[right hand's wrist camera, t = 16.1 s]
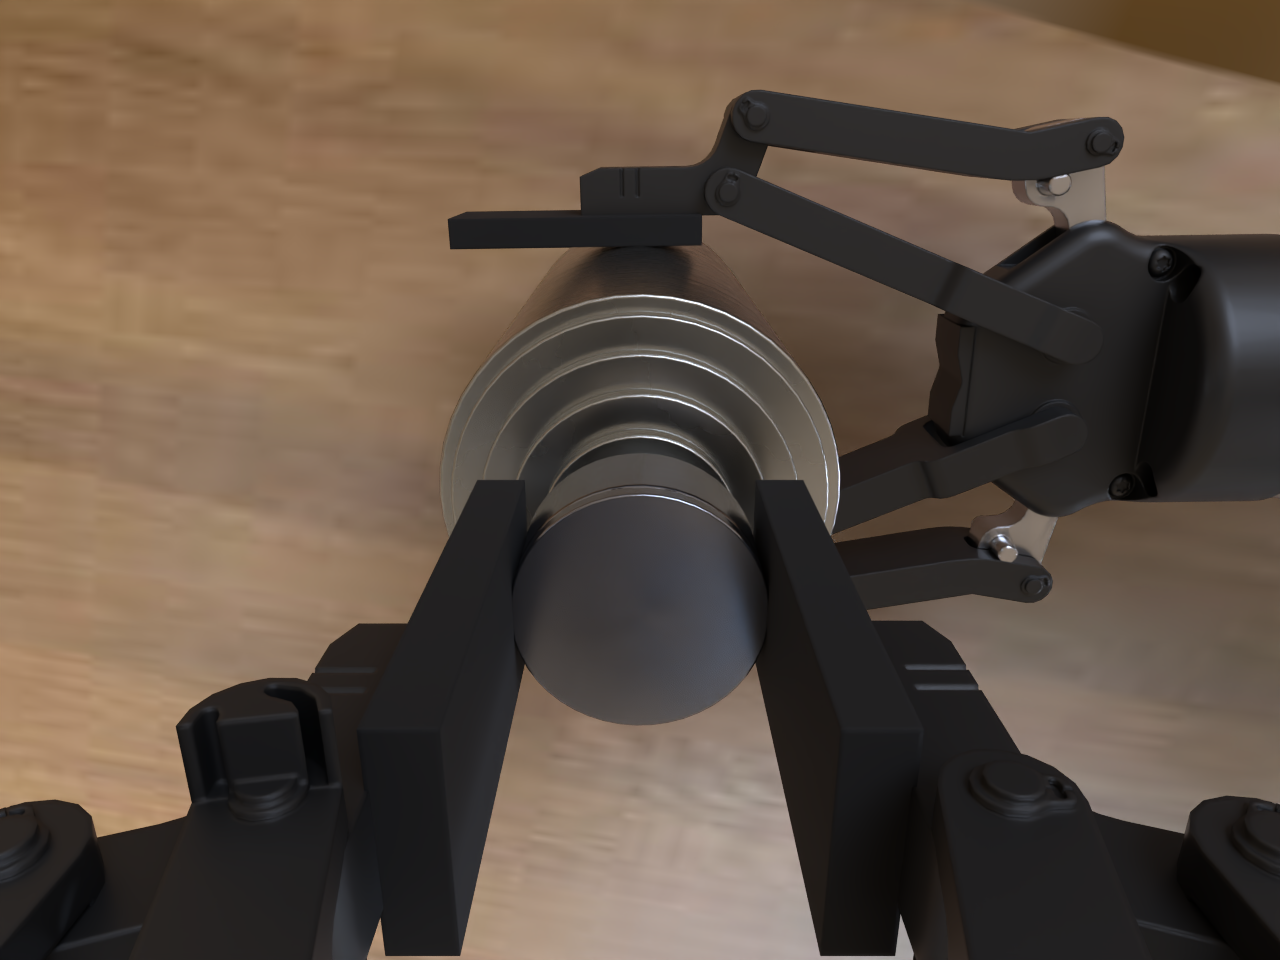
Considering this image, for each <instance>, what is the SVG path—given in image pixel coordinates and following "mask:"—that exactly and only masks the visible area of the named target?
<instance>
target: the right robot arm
mask: <svg viewBox="0 0 1280 960" xmlns="http://www.w3.org/2000/svg"><path fill="white" fill-rule="evenodd" d="M526 535H527V513H526V491H525V480H477V482H476V484H475V486H474V488H473V490H472V492H471V494H470V496H469V498H468V500H467V502H466V504H465V506H464V508H463V510H462V513H461V515H460V517H459V519H458V521H457V523H456V525H455V527H454V529H453V531H452V533H451V535H450V537H449V539H448V541H447V543H446V546H445V548H444V550H443V552H442V554H441V556H440V558H439V560H438V562H437V564H436V566H435V568H434V570H433V572H432V574H431V577H430V579H429V581H428V583H427V585H426V587H425V589H424V591H423V593H422V595H421V597H420V599H419V601H418V603H417V605H416V607H415V610H414V612H413V614H412V616H411V618H410V620H409V622H408V624H358V625H356V626H355V627H353V628H352V629H351V630H349V631H348V632H346V633H345V634H344V635H342V636H341V637H339V638H338V639H337V640H335V641H334V642H333V643H331V644H330V645H329V647H328V648H327V650H326V652H325V653H324V655H323V656H322V658H321V660H320V661H319V663H318V665H317V666H316V668H315V673H312V674H311V676H310V677H309V679H308V681H305V680H301V679H298V678H267V679H261V680H256V681H251V682H246V683H241V684H238V685H235V686H233V687H230V688H228V689H225V690H222V691H220V692H217V693H215V694H212V695H211V696H209V697H208V698H206V699H205V700H203V701H202V702H200V703H199V704H197V705H195V706H194V707H192V708H191V709H190V710H189V711H188V712H187V713H186V714H185V716H184V717H183V718H182V719H181V721H180V722H179V723H178V724H177V725H176V730H177V735H178V739H179V744H180V749H181V754H182V758H183V763H184V768H185V773H186V777H187V782H188V787H189V792H190V796H191V801H192V804H191V806H190V809H189V811H188V814H187V816H185V817H183V818H179V819H176V820H172V821H169V822H165V823H162V824H158V825H153V826H149V827H144V828H139V829H135V830H130V831H125V832H121V833H116V834H112V835H107V836H102V837H98V838H97V836H96V832H95V828H94V824H93V820H92V816H91V815H90V814H89V813H87V812H86V811H85V810H84V809H83V808H82V807H81V806H80V805H79V804H74V803H69V802H65V801H60V800H45V801H34V802H24V803H21V804H17V805H13V806H10V807H7V808H6V807H5V808H2V809H0V960H367V955H368V952H369V949H370V946H371V943H372V940H373V937H374V935H375V932H376V929H377V926H378V923H379V920H380V917H381V925H382V933H383V941H384V948H385V956H460V954H461V949H462V945H463V940H464V936H465V931H466V927H467V922H468V918H469V913H470V909H471V904H472V900H473V895H474V891H475V886H476V882H477V877H478V873H479V868H480V864H481V859H482V855H483V850H484V846H485V841H486V837H487V832H488V828H489V823H490V818H491V814H492V809H493V805H494V800H495V796H496V791H497V787H498V782H499V778H500V773H501V769H502V764H503V760H504V755H505V751H506V746H507V742H508V737H509V733H510V728H511V724H512V719H513V715H514V710H515V706H516V701H517V697H518V692H519V687H520V683H521V678H522V674H523V669H524V665H525V663H524V661H523V659H522V658H521V656H520V654H519V651H518V649H517V646H516V644H515V641H514V630H513V611H512V585H513V580H514V577H515V573H516V570H517V566H518V563H519V559H520V556H521V552H522V549H523V545H524V542H525V538H526ZM753 537H754V541H755V544H756V547H757V551H758V554H759V558H760V561H761V565H762V568H763V572H764V575H765V579H766V582H767V586H768V590H769V602H768V621H767V636H766V640H765V643H764V646H763V649H762V651H761V653H760V655H759V657H758V659H757V661H756V667H757V671H758V676H759V681H760V685H761V690H762V694H763V699H764V703H765V708H766V712H767V717H768V721H769V726H770V730H771V735H772V739H773V744H774V748H775V753H776V757H777V762H778V766H779V771H780V775H781V780H782V784H783V789H784V793H785V798H786V802H787V807H788V811H789V816H790V820H791V825H792V829H793V834H794V839H795V843H796V848H797V852H798V857H799V861H800V866H801V870H802V875H803V879H804V884H805V888H806V893H807V897H808V902H809V906H810V911H811V915H812V920H813V924H814V929H815V933H816V938H817V942H818V947H819V951H820V956H895V953H896V945H897V937H898V930H899V922H900V914H901V916H902V919H903V922H904V925H905V928H906V931H907V934H908V937H909V940H910V943H911V946H912V949H913V952H914V957H913V960H1280V804H1277V803H1276V804H1274V803H1272V802H1269V801H1264V800H1261V799H1257V798H1246V797H1235V796H1223V797H1218V798H1213V799H1208V800H1203V801H1202V802H1201V803H1200V804H1199V805H1198V806H1197V807H1196V808H1194V809H1193V810H1192V811H1191V812H1190V815H1189V819H1188V823H1187V827H1186V831H1185V834H1182V833H1178V832H1173V831H1168V830H1164V829H1159V828H1154V827H1150V826H1145V825H1141V824H1136V823H1131V822H1127V821H1122V820H1119V819H1115V818H1112V817H1108V816H1105V815H1101V814H1098V813H1095V812H1093V811H1092V810H1091V807H1090V805H1089V802H1088V801H1087V799H1086V798H1085V796H1084V795H1083V794H1082V792H1081V791H1080V789H1079V788H1078V786H1077V785H1076V784H1075V783H1074V782H1073V781H1072V780H1070V779H1069V778H1068V777H1066V776H1065V775H1064V774H1062V773H1061V772H1060V771H1058V770H1057V769H1056V768H1054V767H1053V766H1050V765H1048V764H1046V763H1044V762H1041V761H1039V760H1037V759H1035V758H1032V757H1030V756H1028V755H1024V754H1021V753H1020V751H1019V750H1018V748H1017V746H1016V745H1015V743H1014V742H1013V740H1012V738H1011V737H1010V735H1009V734H1008V732H1007V730H1006V729H1005V727H1004V726H1003V724H1002V722H1001V721H1000V719H999V718H998V716H997V714H996V713H995V711H994V710H993V708H992V706H991V705H990V703H989V702H988V700H987V698H986V697H985V695H984V694H983V692H982V690H979V689H978V684H977V682H976V681H975V679H974V677H973V676H972V674H971V673H970V671H969V670H966V665H965V663H964V661H963V660H962V658H961V657H960V655H959V653H958V652H957V650H956V649H955V647H954V645H953V644H952V642H951V641H950V640H948V639H947V638H946V637H944V636H943V635H941V634H940V633H939V632H937V631H936V630H934V629H933V628H931V627H930V626H929V625H927V624H926V623H924V622H923V621H871V619H870V617H869V614H868V612H867V610H866V608H865V606H864V604H863V602H862V600H861V598H860V596H859V594H858V592H857V590H856V588H855V586H854V584H853V581H852V579H851V577H850V575H849V573H848V571H847V569H846V567H845V565H844V563H843V561H842V559H841V557H840V555H839V553H838V551H837V548H836V546H835V544H834V542H833V540H832V538H831V536H830V534H829V532H828V530H827V528H826V526H825V524H824V522H823V520H822V517H821V515H820V513H819V511H818V509H817V507H816V505H815V503H814V501H813V499H812V497H811V495H810V493H809V491H808V489H807V487H806V484H805V482H804V480H756V482H755V503H754V525H753Z"/></svg>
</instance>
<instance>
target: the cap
mask: <svg viewBox="0 0 1280 960" xmlns="http://www.w3.org/2000/svg"><path fill="white" fill-rule="evenodd" d="M768 602H769V590H768V586H767V582H766V579H765V575H764V572H763V568H762V565H761V561H760V558H759V554H758V551H757V547H756V544H755V541H754V537H753V534H752V530H751V527H750V524H749V522H748V520H747V517H746V515H745V513H744V511H743V510H742V508H741V507H740V505H739V503H738V502H737V500H736V499H735V498H734V497H733V495H732V494H731V493H730V492H729V491H728V490H727V489H726V488H725V487H724V486H723V485H722V484H721V483H720V482H719V481H718V480H716V479H715V478H714V477H712V476H711V475H709V474H708V473H706V472H705V471H703V470H702V469H700V468H698V467H696V466H694V465H692V464H690V463H687V462H684V461H681V460H679V459H676V458H672V457H668V456H663V455H656V454H646V453H638V454H624V455H616V456H611V457H608V458H605V459H601V460H598V461H595V462H593V463H590V464H588V465H586V466H584V467H582V468H580V469H578V470H577V471H575V472H573V473H572V474H570V475H569V476H567V477H566V478H565V479H563V480H562V481H561V482H560V483H558V484H557V485H556V486H555V487H554V488H553V489H552V490H551V492H550V493H549V494H548V495H547V496H546V497H545V499H544V500H543V501H542V503H541V504H540V506H539V507H538V509H537V511H536V513H535V515H534V516H533V518H532V521H531V523H530V526H529V529H528V532H527V535H526V538H525V542H524V545H523V549H522V552H521V556H520V559H519V563H518V566H517V570H516V573H515V577H514V580H513V585H512V611H513V630H514V641H515V644H516V646H517V649H518V651H519V654H520V656H521V658H522V659H523V661H524V663H525V665H526V666H527V668H528V670H529V671H530V672H531V673H532V675H533V676H534V677H535V679H536V680H537V681H538V682H539V683H540V684H541V685H542V686H543V687H544V688H545V689H546V690H547V691H548V692H549V693H550V694H552V695H553V696H554V697H555V698H557V699H558V700H559V701H561V702H562V703H564V704H566V705H567V706H569V707H571V708H572V709H574V710H576V711H578V712H581V713H583V714H585V715H587V716H590V717H593V718H596V719H600V720H603V721H607V722H612V723H617V724H626V725H655V724H662V723H668V722H672V721H676V720H680V719H684V718H687V717H689V716H692V715H694V714H697V713H699V712H701V711H703V710H705V709H707V708H709V707H711V706H713V705H714V704H716V703H717V702H719V701H720V700H721V699H723V698H724V697H726V696H727V695H728V694H729V693H730V692H731V691H733V690H734V689H735V688H736V687H737V686H738V685H739V684H740V683H741V682H742V680H743V679H744V678H745V677H746V676H747V675H748V673H749V672H750V670H751V669H752V667H753V666H754V664H755V663H756V661H757V659H758V657H759V655H760V653H761V651H762V649H763V646H764V643H765V640H766V636H767V621H768Z"/></svg>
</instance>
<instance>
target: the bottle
mask: <svg viewBox="0 0 1280 960" xmlns="http://www.w3.org/2000/svg"><path fill="white" fill-rule="evenodd" d="M638 453H646V454H656V455H663V456H668V457H672V458H676V459H679V460H681V461H684V462H687V463H690V464H692V465H694V466H696V467H698V468H700V469H702V470H703V471H705V472H706V473H708V474H709V475H711V476H712V477H714V478H715V479H716V480H718V481H719V482H720V483H721V484H722V485H723V486H724V487H725V488H726V489H727V490H728V491H729V492H730V493H731V494H732V495H733V497H734V498H735V499H736V500H737V502H738V503H739V505H740V507H741V508H742V510H743V511H744V513H745V515H746V517H747V520H748V522H749V524H750V527H751V530H752V534H753V525H754V503H755V482H756V480H804V482H805V484H806V487H807V489H808V491H809V493H810V495H811V497H812V499H813V501H814V503H815V505H816V507H817V509H818V511H819V513H820V515H821V517H822V520H823V522H824V524H825V526H826V528H827V530H828V532H829V534H830V536H831V534H832V531H833V528H834V525H835V521H836V516H837V510H838V504H839V498H840V467H839V458H838V449H837V445H836V441H835V437H834V433H833V429H832V426H831V423H830V420H829V418H828V416H827V413H826V411H825V408H824V406H823V404H822V401H821V399H820V398H819V396H818V394H817V393H816V391H815V389H814V388H813V386H812V384H811V383H810V381H809V379H808V378H807V376H806V375H805V373H804V372H803V371H802V369H801V368H800V367H799V365H798V364H797V362H796V361H795V360H794V358H793V357H792V355H791V354H790V353H789V351H788V350H787V348H786V347H785V346H784V344H783V343H782V342H781V340H780V339H779V337H778V336H777V335H776V333H775V332H774V330H773V329H772V328H771V326H770V325H769V323H768V322H767V321H766V319H765V318H764V316H763V315H762V314H761V312H760V311H759V310H758V308H757V307H756V305H755V304H754V303H753V301H752V300H751V298H750V297H749V296H748V294H747V293H746V291H745V290H744V289H743V287H742V286H741V284H740V283H739V282H738V280H737V279H736V278H735V276H734V275H733V273H732V272H731V271H730V269H729V268H728V267H727V266H726V264H725V263H724V262H723V261H722V259H721V258H720V257H719V256H718V255H717V254H715V253H714V252H713V251H712V250H711V249H710V248H709V247H707V246H706V245H705V244H703V243H702V246H637V247H571V248H570V249H569V250H568V251H566V252H565V253H564V254H563V255H562V256H561V257H560V258H559V259H558V260H557V262H556V263H555V264H554V265H553V266H552V267H551V269H550V270H549V272H548V273H547V274H546V276H545V277H544V279H543V280H542V281H541V283H540V284H539V286H538V287H537V288H536V290H535V291H534V292H533V294H532V295H531V297H530V298H529V299H528V301H527V302H526V304H525V305H524V306H523V308H522V309H521V311H520V312H519V313H518V315H517V316H516V317H515V319H514V320H513V322H512V323H511V324H510V326H509V327H508V329H507V330H506V331H505V333H504V334H503V336H502V337H501V338H500V340H499V341H498V343H497V344H496V345H495V347H494V348H493V349H492V351H491V352H490V354H489V355H488V356H487V358H486V359H485V361H484V362H483V363H482V365H481V366H480V368H479V369H478V370H477V372H476V373H475V375H474V376H473V378H472V379H471V381H470V382H469V384H468V386H467V387H466V389H465V390H464V392H463V393H462V395H461V397H460V399H459V401H458V403H457V406H456V408H455V410H454V412H453V414H452V417H451V419H450V422H449V426H448V429H447V432H446V436H445V439H444V442H443V449H442V456H441V463H440V498H441V505H442V513H443V518H444V522H445V525H446V529H447V532H448V536H449V537H450V535H451V533H452V531H453V529H454V527H455V525H456V523H457V521H458V519H459V517H460V515H461V513H462V510H463V508H464V506H465V504H466V502H467V500H468V498H469V496H470V494H471V492H472V490H473V488H474V486H475V484H476V482H477V480H525V491H526V513H527V532H528V529H529V526H530V523H531V521H532V518H533V516H534V515H535V513H536V511H537V509H538V507H539V506H540V504H541V503H542V501H543V500H544V499H545V497H546V496H547V495H548V494H549V493H550V492H551V490H552V489H553V488H554V487H555V486H556V485H557V484H558V483H560V482H561V481H562V480H563V479H565V478H566V477H567V476H569V475H570V474H572V473H573V472H575V471H577V470H578V469H580V468H582V467H584V466H586V465H588V464H590V463H593V462H595V461H598V460H601V459H605V458H608V457H611V456H616V455H624V454H638Z"/></svg>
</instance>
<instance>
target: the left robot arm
mask: <svg viewBox="0 0 1280 960" xmlns="http://www.w3.org/2000/svg"><path fill="white" fill-rule="evenodd" d="M1123 141H1124V134H1123V130H1122V127H1121V126H1120V125H1119V123H1118V122H1117V121H1116V120H1114V119H1112V118H1109V117H1094V118H1077V119H1060V120H1053V121H1049V122H1044V123H1040V124H1035V125H1031V126H1026V127H1021V128H1017V129H1008V128H1002V127H996V126H989V125H983V124H976V123H970V122H964V121H957V120H951V119H944V118H938V117H932V116H925V115H919V114H912V113H906V112H900V111H893V110H887V109H880V108H874V107H868V106H861V105H855V104H848V103H842V102H836V101H829V100H823V99H816V98H810V97H804V96H797V95H791V94H784V93H778V92H772V91H765V90H751V91H749V92H746V93H744V94H742V95H740V96H738V97H736V98H735V99H733V100H732V101H731V102H730V103H729V104H728V106H727V107H726V110H725V113H724V119H723V122H722V124H721V127H720V130H719V133H718V136H717V139H716V141H715V144H714V146H713V148H712V151H711V152H710V153H709V155H708V156H707V157H706V158H705V159H704V160H702V161H701V162H699V163H697V164H694V165H689V166H649V167H600V168H598V169H596V170H594V171H591V172H589V173H587V174H585V175H582V176H581V177H580V197H581V210H556V211H487V212H465V213H462V214H460V215H457V216H455V217H452V218H449V219H448V227H449V239H450V249H500V248H570V247H637V246H702V215H720V216H723V217H725V218H727V219H730V220H732V221H735V222H737V223H739V224H742V225H744V226H746V227H749V228H751V229H754V230H756V231H758V232H761V233H763V234H765V235H768V236H770V237H773V238H775V239H777V240H780V241H782V242H784V243H787V244H789V245H792V246H794V247H796V248H799V249H801V250H803V251H806V252H808V253H811V254H813V255H815V256H818V257H820V258H822V259H825V260H827V261H829V262H832V263H834V264H837V265H839V266H841V267H844V268H846V269H848V270H851V271H853V272H856V273H858V274H860V275H863V276H865V277H867V278H870V279H872V280H875V281H877V282H879V283H882V284H884V285H886V286H889V287H891V288H894V289H896V290H898V291H901V292H903V293H905V294H908V295H910V296H912V297H915V298H917V299H920V300H922V301H924V302H927V303H929V304H931V305H934V306H936V307H938V308H940V309H942V310H944V311H946V312H945V314H938V318H937V328H936V338H935V341H936V346H937V352H938V358H939V364H940V366H939V370H938V372H937V375H936V378H935V380H934V383H933V386H932V388H931V391H930V399H929V409H928V415H927V416H924V417H922V418H919V419H917V420H914V421H912V422H909V423H907V424H905V425H903V426H901V427H900V428H898V429H897V431H896V432H895V434H893V435H892V436H890V437H888V438H886V439H883V440H881V441H878V442H876V443H873V444H871V445H868V446H866V447H863V448H860V449H858V450H855V451H853V452H850V453H848V454H845V455H843V456H840V457H838V458H839V467H840V498H839V504H838V510H837V516H836V521H835V525H834V528H833V531H832V534H834V533H837V532H840V531H842V530H845V529H847V528H850V527H852V526H855V525H858V524H860V523H863V522H865V521H868V520H871V519H873V518H876V517H878V516H881V515H884V514H886V513H889V512H891V511H894V510H896V509H899V508H902V507H904V506H907V505H909V504H912V503H915V502H917V501H920V500H922V499H925V498H940V499H941V498H948V497H952V496H955V495H957V494H960V493H962V492H965V491H968V490H970V489H973V488H975V487H978V486H981V485H983V484H986V483H988V482H992V483H994V484H995V485H996V486H998V487H999V488H1000V489H1002V490H1003V491H1005V492H1006V493H1007V494H1009V495H1010V496H1012V497H1013V498H1014V499H1016V500H1015V502H1014V504H1013V505H1012V506H1011V507H1010V508H1009V509H1008V510H1007V511H1005V512H1004V513H1001V514H998V515H989V516H977V517H976V518H974V519H973V521H972V523H971V528H965V527H936V528H927V529H921V530H915V531H908V532H902V533H895V534H889V535H882V536H876V537H870V538H863V539H857V540H850V541H844V542H837V543H834V544H835V546H836V548H837V551H838V553H839V555H840V557H841V559H842V561H843V563H844V565H845V567H846V569H847V571H848V573H849V575H850V577H851V579H852V581H853V584H854V586H855V588H856V590H857V592H858V594H859V596H860V598H861V600H862V602H863V604H864V606H865V608H866V610H869V609H875V608H882V607H889V606H895V605H902V604H908V603H915V602H922V601H928V600H935V599H942V598H948V597H955V596H961V595H968V594H976V595H982V596H988V597H994V598H1000V599H1007V600H1013V601H1019V602H1025V603H1034V602H1037V601H1039V600H1042V599H1043V598H1044V597H1045V596H1047V595H1048V593H1049V592H1050V590H1051V588H1052V582H1053V581H1052V577H1051V574H1050V573H1049V572H1048V571H1047V570H1046V569H1045V568H1044V567H1043V566H1042V565H1041V563H1042V560H1043V557H1044V554H1045V552H1046V549H1047V546H1048V543H1049V541H1050V538H1051V535H1052V533H1053V530H1054V527H1055V524H1056V522H1057V519H1058V517H1062V516H1067V515H1070V514H1073V513H1075V512H1077V511H1079V510H1081V509H1083V508H1085V507H1087V506H1089V505H1092V504H1095V503H1098V502H1103V501H1109V500H1119V501H1134V502H1201V501H1255V500H1263V499H1267V498H1271V497H1275V498H1279V499H1280V235H1278V234H1233V235H1167V236H1137V235H1134V234H1132V233H1130V232H1128V231H1126V230H1125V229H1123V228H1121V227H1120V226H1118V225H1117V224H1114V223H1112V222H1109V221H1106V197H1105V165H1107V164H1110V163H1111V162H1112V161H1113V160H1114V159H1115V158H1116V157H1117V156H1118V155H1119V153H1120V151H1121V149H1122V147H1123ZM768 146H773V147H779V148H786V149H792V150H799V151H805V152H812V153H818V154H825V155H831V156H838V157H845V158H851V159H858V160H864V161H871V162H877V163H884V164H890V165H897V166H903V167H910V168H916V169H923V170H929V171H936V172H942V173H949V174H956V175H962V176H970V177H980V178H991V179H1001V180H1012V188H1013V193H1014V194H1015V196H1016V198H1017V199H1018V200H1019V201H1021V202H1023V203H1025V204H1029V205H1036V206H1043V207H1045V208H1047V209H1048V210H1049V211H1050V212H1051V214H1052V216H1053V219H1054V225H1053V226H1051V227H1050V228H1049V229H1047V230H1046V231H1044V232H1043V233H1041V234H1040V235H1038V236H1037V237H1036V238H1034V239H1033V240H1031V241H1030V242H1028V243H1027V244H1025V245H1024V246H1023V247H1021V248H1020V249H1018V250H1017V251H1015V252H1014V253H1012V254H1011V255H1010V256H1008V257H1007V258H1005V259H1004V260H1002V261H1001V262H999V263H998V264H997V265H995V266H994V267H992V268H991V269H989V270H988V271H986V272H985V273H984V274H982V273H979V272H977V271H975V270H972V269H970V268H967V267H965V266H963V265H960V264H958V263H955V262H953V261H951V260H948V259H946V258H944V257H941V256H939V255H937V254H934V253H932V252H930V251H927V250H925V249H923V248H920V247H918V246H916V245H913V244H911V243H909V242H906V241H904V240H902V239H899V238H897V237H895V236H892V235H890V234H888V233H885V232H883V231H881V230H878V229H876V228H874V227H871V226H869V225H867V224H864V223H862V222H860V221H858V220H855V219H853V218H851V217H848V216H846V215H844V214H841V213H839V212H837V211H834V210H832V209H830V208H827V207H825V206H823V205H820V204H818V203H816V202H813V201H811V200H809V199H806V198H804V197H802V196H799V195H797V194H795V193H792V192H790V191H788V190H785V189H783V188H781V187H778V186H776V185H774V184H771V183H769V182H767V181H764V180H762V179H760V178H758V177H756V176H757V174H758V171H759V168H760V166H761V163H762V160H763V158H764V155H765V152H766V149H767V147H768ZM832 534H831V535H832Z"/></svg>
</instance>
